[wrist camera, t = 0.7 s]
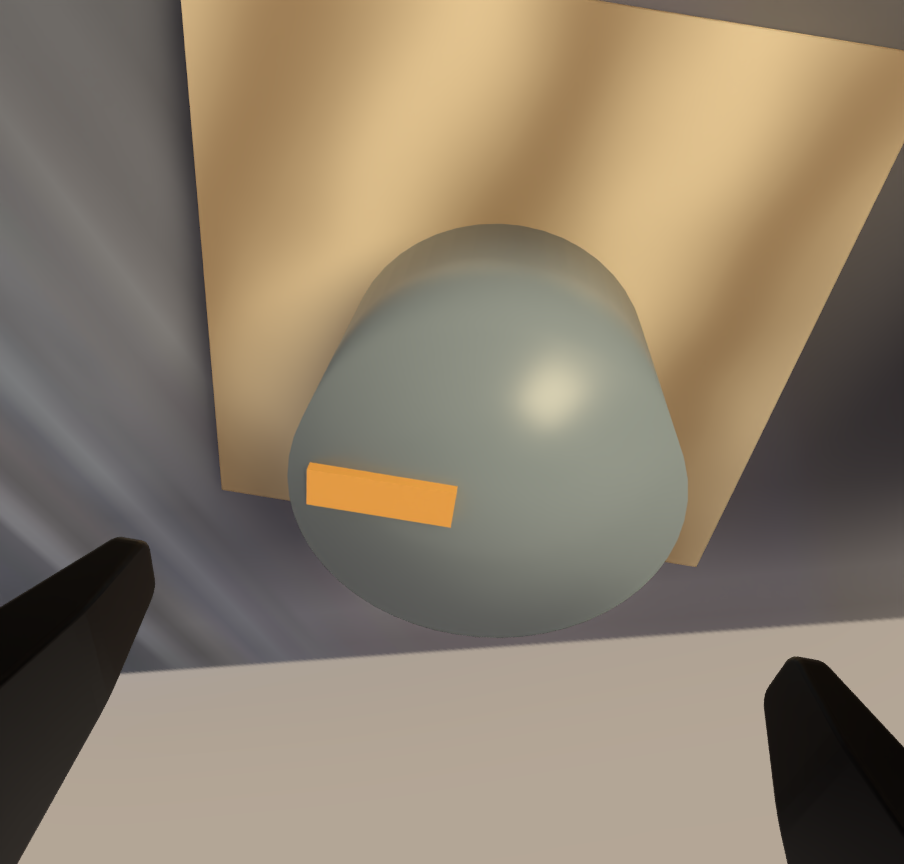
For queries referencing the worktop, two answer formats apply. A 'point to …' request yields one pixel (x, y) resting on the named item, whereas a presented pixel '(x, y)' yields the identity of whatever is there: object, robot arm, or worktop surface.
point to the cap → (491, 440)
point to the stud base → (529, 189)
